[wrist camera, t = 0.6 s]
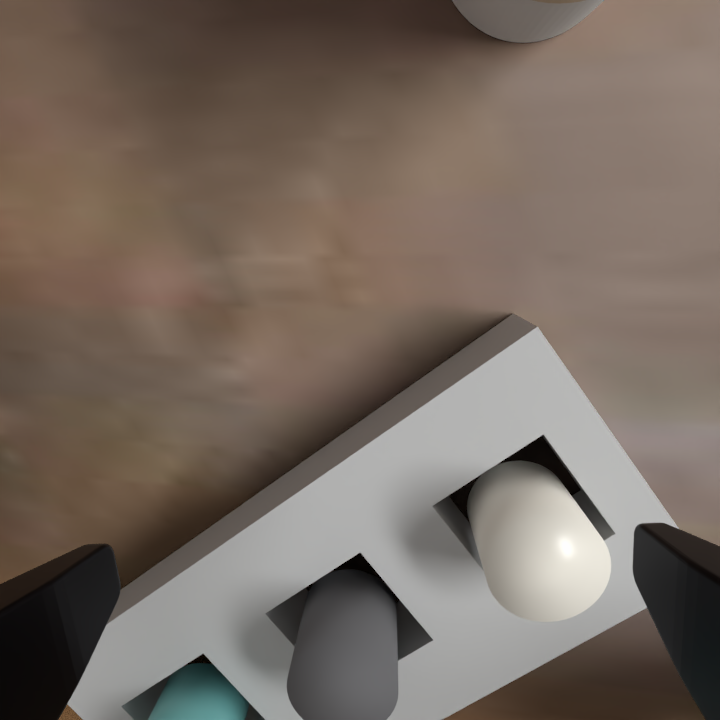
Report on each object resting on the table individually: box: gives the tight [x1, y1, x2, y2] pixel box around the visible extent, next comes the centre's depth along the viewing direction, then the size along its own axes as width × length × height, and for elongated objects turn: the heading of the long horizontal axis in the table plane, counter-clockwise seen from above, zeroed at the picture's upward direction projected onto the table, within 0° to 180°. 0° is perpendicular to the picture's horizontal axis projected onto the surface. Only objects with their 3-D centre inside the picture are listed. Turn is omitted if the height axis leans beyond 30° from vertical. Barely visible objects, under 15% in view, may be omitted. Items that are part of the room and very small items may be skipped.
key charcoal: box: [287, 569, 398, 720], centre depth 20 cm, size 4×4×4 cm
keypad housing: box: [68, 314, 679, 720], centre depth 22 cm, size 12×26×4 cm, turn 127°
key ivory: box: [467, 461, 611, 622], centre depth 18 cm, size 4×4×4 cm
